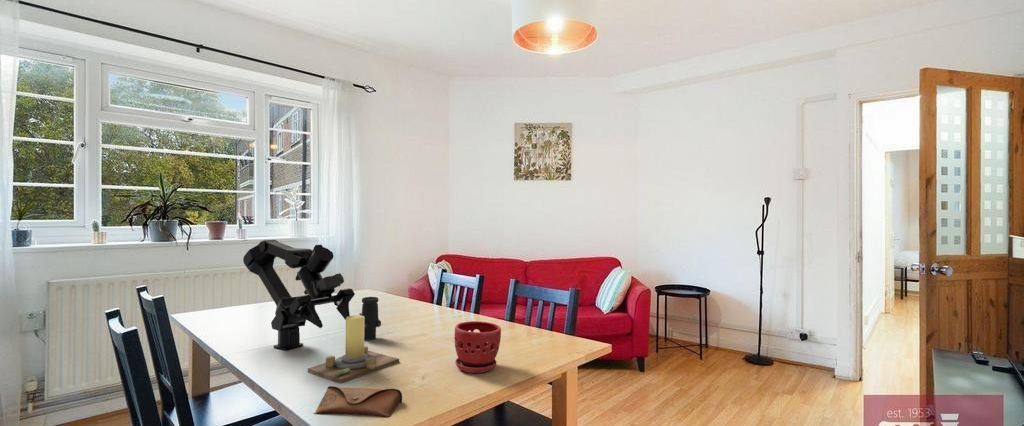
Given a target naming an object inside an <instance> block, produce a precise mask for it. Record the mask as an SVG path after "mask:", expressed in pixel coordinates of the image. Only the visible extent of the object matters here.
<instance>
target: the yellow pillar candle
mask: <svg viewBox="0 0 1024 426" xmlns="http://www.w3.org/2000/svg"><path fill="white" fill-rule="evenodd" d="M364 320H365V317H364V316H361V315H359V314H357V315H356V314H355V315H350V316H348V317H346V320H345V344H344V345H345V347H344V348H345V354H344V355H342V356H341V357H342V362H343V363H346V364H357V363H362V362H365V361H366V359H367V358H368V355H367V354H366V353H364V347H365V340H364Z"/></svg>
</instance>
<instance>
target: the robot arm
mask: <svg viewBox="0 0 1024 426" xmlns="http://www.w3.org/2000/svg"><path fill="white" fill-rule="evenodd" d="M333 253H334V252H333V251H331V250H330V249H328V248H326V247H324V246H323V245H322V244H314V247H313V249H311V248H296V247H294V246H290V245H288V244H285V243H283V242H279V241H278V240H276V239H263V240H261V241H260V242H259V243H258V244H256V245H255V246H253V247H251V248H250V249H249V250H247V252H246V253H245V255H244V256H243V259H242V260H243V264H244V266H245V267H246V268H247V270H248V271H249V272H251V273H252V274H255V275H256V276H258V277H259V278H260V281H261V282H262V283H263V285H264V287H265V288H266V291H267V292H268V294H269V295H270V297H271V298H272V301H273V302H274V304H275V306H276V308H275V312H274V314H275V316H274V318H273V319H272V320H271V323H270V324H271V329H272V330H275V331H277V344H274V345H273V348H276V349H278V350H279V349H280V350H283V351H288V350H291V349H296V348H298V347H303V346H304V343H303V342H300V340H301V339H300V338H301V337H300V327H305V326H306V324H307V323H306V322H307V321H308V322H310V323H311V324H313V325H314V326H316V327H317V328H318V329H322V328H323V327H324V325H323V322H322V320H321V318H320V316H319V313H318V312H317V311H316V306H321V305H325V304H326V305H327V304H332V303H333V304H334V306H336V310H337V312H338V313H339V314H340V315H341V316H342V318H343V319H344V320H345V321H346V317H348V316H351V315H350V301H352V299H353V298H354V297H355V295H356V294H355V292H354V290H353V288H344V289H339V291H338V292H337V293H336V294H334V293H335V291H336V288H338V287H340V286H341V285H342V284H344V283H345V279H344V276H343V275H342V273H340V272H339V273H335V274H333V275H329V276H325V277H323V276H322V274H321V273H324V272H325V271H326V269H327V268H328V267H329V265H330V264H331V261H332V260H333V259H334V254H333ZM276 258H279V259H281V260H284V263H285V265H286V266H287V267H289V268H290V269H299V270H298V271H297V272H296V276H295V281H300V282H301V283H302V285H303V287H304V288H305V289H304V291H303V293H304V295H300V296H298V295H297V296H291V294H290V292H289V290H288V289H287V288H286V286H285V285H284V283H283V281H282V280H281V278H280V276H279V275H278V273H277V271H276V270H275V268H274V263H275V260H276ZM333 294H334V295H333Z"/></svg>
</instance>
